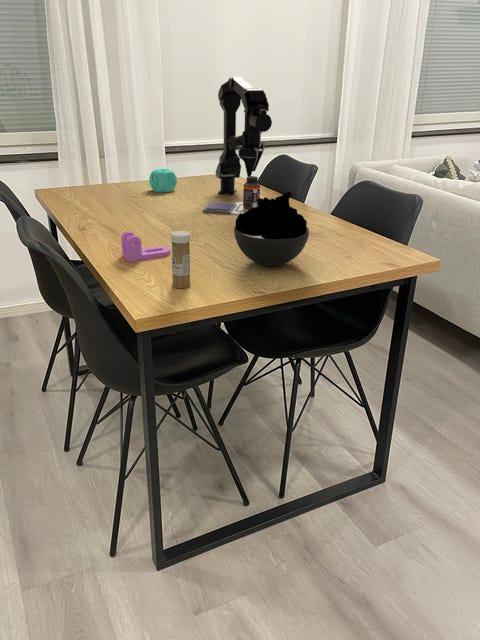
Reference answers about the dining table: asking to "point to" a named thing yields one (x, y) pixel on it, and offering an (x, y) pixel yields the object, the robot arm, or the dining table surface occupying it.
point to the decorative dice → (163, 180)
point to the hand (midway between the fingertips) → (251, 173)
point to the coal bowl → (271, 231)
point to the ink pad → (219, 208)
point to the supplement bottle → (251, 193)
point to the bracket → (134, 251)
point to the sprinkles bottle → (180, 259)
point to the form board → (239, 209)
